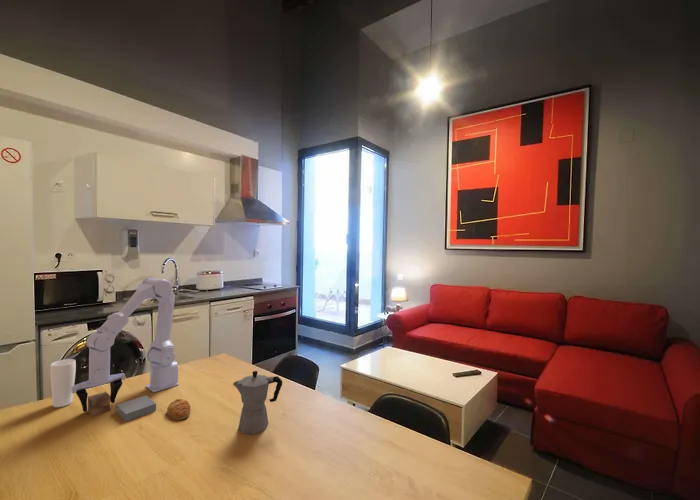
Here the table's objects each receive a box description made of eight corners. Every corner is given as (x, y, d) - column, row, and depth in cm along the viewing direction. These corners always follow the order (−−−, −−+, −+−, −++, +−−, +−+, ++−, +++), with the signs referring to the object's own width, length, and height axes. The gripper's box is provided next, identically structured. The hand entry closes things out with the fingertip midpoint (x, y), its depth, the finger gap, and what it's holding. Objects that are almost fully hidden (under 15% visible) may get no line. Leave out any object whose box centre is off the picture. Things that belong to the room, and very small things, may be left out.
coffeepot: (230, 438, 96) (232, 379, 96) (232, 421, 105) (234, 367, 105) (282, 430, 101) (284, 374, 100) (280, 415, 110) (281, 363, 109)
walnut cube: (105, 405, 113) (105, 391, 113) (110, 410, 110) (110, 396, 109) (87, 411, 109) (87, 396, 109) (91, 416, 106) (92, 401, 106)
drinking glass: (63, 409, 109) (63, 366, 109) (43, 408, 109) (44, 365, 109) (80, 400, 116) (81, 359, 115) (62, 399, 116) (62, 358, 115)
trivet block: (145, 403, 116) (145, 395, 115) (156, 412, 110) (156, 403, 110) (116, 413, 108) (116, 404, 108) (125, 423, 103) (125, 414, 103)
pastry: (195, 416, 108) (195, 405, 108) (173, 424, 103) (173, 412, 103) (185, 406, 114) (186, 395, 114) (164, 412, 109) (165, 402, 109)
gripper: (120, 358, 117) (120, 395, 117) (69, 370, 106) (68, 410, 106) (127, 363, 113) (126, 401, 113) (74, 376, 101) (73, 418, 101)
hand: (99, 406), depth 109 cm, fingers open, 7 cm apart
